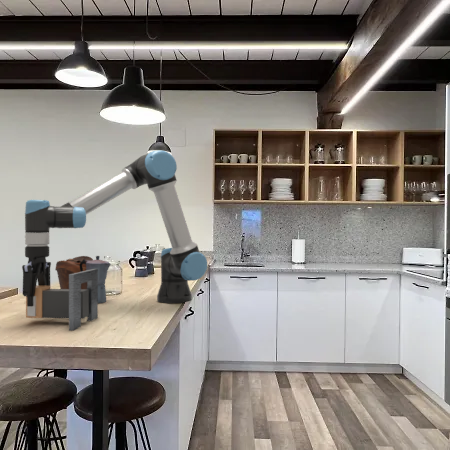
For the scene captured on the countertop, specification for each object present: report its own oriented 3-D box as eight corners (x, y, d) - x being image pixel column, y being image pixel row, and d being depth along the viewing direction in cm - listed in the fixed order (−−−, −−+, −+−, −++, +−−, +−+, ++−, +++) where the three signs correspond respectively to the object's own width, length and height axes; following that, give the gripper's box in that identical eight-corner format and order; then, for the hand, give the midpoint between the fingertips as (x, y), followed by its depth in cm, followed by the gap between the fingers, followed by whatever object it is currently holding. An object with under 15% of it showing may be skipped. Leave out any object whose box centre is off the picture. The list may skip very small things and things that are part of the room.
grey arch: (97, 317, 147) (97, 268, 147) (73, 330, 129) (73, 274, 129) (93, 317, 147) (93, 268, 147) (68, 330, 129) (68, 274, 129)
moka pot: (105, 304, 172) (105, 256, 172) (72, 303, 175) (72, 256, 175) (116, 300, 181) (116, 255, 182) (84, 299, 185) (84, 254, 185)
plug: (89, 315, 141) (89, 286, 141) (81, 319, 135) (82, 288, 136) (35, 314, 143) (35, 285, 143) (25, 317, 138) (26, 287, 138)
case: (55, 297, 188) (56, 258, 189) (54, 291, 207) (55, 255, 207) (96, 295, 195) (96, 257, 196) (91, 290, 214) (92, 255, 214)
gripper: (41, 244, 150) (41, 308, 150) (9, 246, 131) (9, 319, 131) (61, 244, 149) (61, 308, 149) (32, 246, 131) (31, 320, 130)
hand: (37, 313), depth 140 cm, fingers closed on plug, 5 cm apart
